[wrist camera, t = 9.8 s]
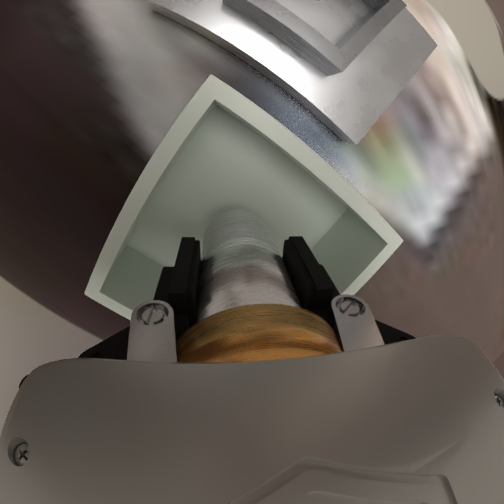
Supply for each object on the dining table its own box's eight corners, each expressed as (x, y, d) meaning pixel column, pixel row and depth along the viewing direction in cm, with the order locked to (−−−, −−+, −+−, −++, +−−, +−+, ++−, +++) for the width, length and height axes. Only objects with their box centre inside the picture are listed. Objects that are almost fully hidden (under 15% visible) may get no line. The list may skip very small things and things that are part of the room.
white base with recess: (153, 10, 10) (134, -16, 6) (259, -75, 7) (268, -106, 3) (341, 140, 15) (375, 150, 11) (419, 48, 12) (457, 43, 8)
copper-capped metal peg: (186, 200, 13) (136, 378, 4) (284, 195, 13) (389, 352, 5) (196, 282, 15) (187, 459, 6) (281, 277, 16) (336, 442, 7)
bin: (116, 243, 17) (84, 293, 12) (214, 88, 13) (211, 74, 8) (252, 318, 21) (262, 376, 16) (357, 203, 17) (403, 240, 12)
